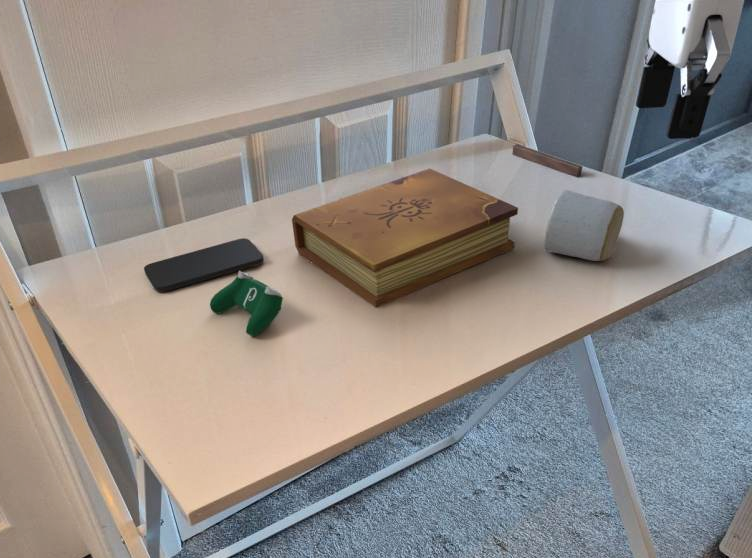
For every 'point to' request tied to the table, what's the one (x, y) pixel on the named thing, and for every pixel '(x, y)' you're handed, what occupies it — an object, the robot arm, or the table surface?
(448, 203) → the diary
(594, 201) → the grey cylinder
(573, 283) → the table surface
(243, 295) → the gaming controller
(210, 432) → the table surface
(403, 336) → the table surface
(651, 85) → the robot arm
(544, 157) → the back rail
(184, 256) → the phone
